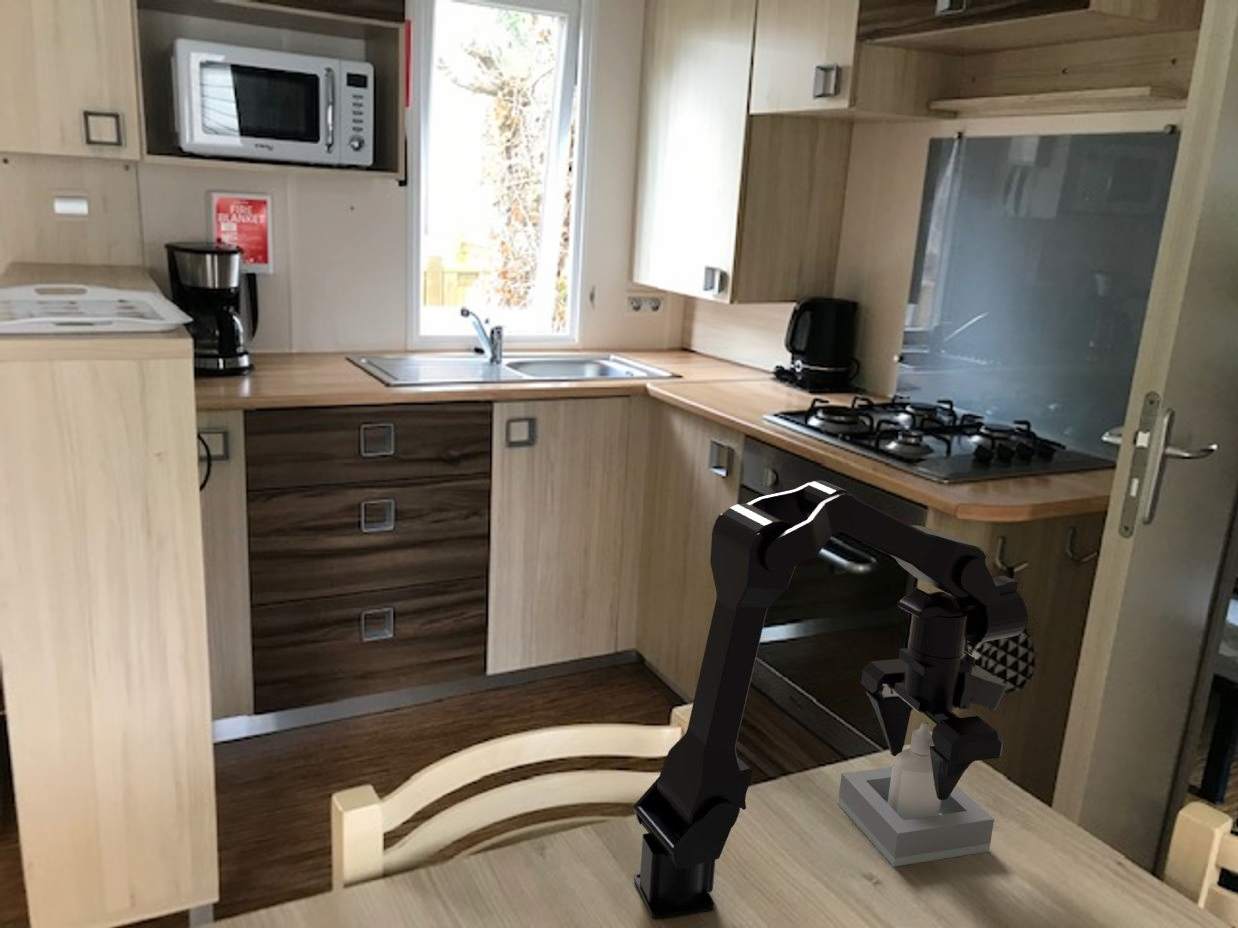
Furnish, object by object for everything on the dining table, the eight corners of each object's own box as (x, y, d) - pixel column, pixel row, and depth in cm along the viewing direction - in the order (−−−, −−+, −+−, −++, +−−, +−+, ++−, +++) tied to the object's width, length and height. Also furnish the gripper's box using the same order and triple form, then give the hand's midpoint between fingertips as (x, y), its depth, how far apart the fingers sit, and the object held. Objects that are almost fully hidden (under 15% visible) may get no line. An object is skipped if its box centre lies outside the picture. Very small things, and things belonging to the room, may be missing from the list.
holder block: (893, 866, 108) (897, 833, 107) (838, 803, 119) (841, 773, 118) (989, 851, 111) (994, 818, 110) (926, 791, 122) (930, 761, 121)
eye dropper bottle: (936, 835, 112) (950, 737, 109) (884, 822, 114) (896, 725, 111) (939, 814, 116) (953, 719, 113) (889, 802, 118) (901, 708, 115)
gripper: (1057, 679, 103) (1034, 814, 107) (948, 609, 121) (932, 728, 124) (963, 688, 100) (943, 827, 104) (866, 616, 117) (852, 737, 121)
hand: (918, 776), depth 113 cm, fingers open, 9 cm apart
